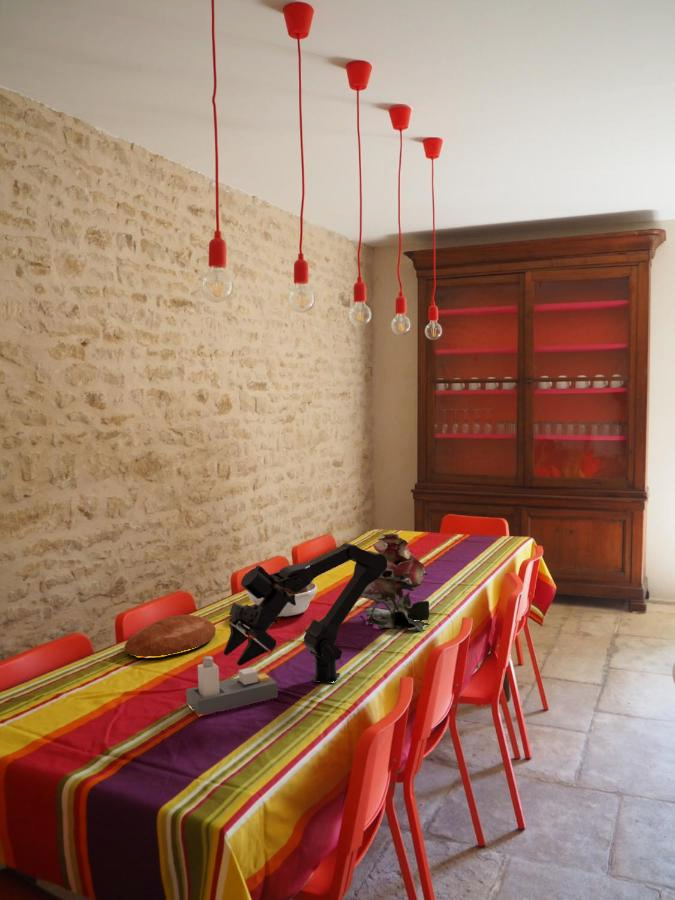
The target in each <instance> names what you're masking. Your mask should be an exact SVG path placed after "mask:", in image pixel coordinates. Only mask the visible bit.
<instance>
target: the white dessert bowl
mask: <svg viewBox="0 0 675 900" xmlns="http://www.w3.org/2000/svg"><path fill="white" fill-rule="evenodd" d="M274 586H275V587H276V588H277V589H279V588H282V587H280V586H278V585H274ZM282 589H284V590H285V591H286V592H287V593H288V594H291V593H292V594H294V595H295V601H296V605H295V606H294V605H292V604H290V603H287V604H286V606H285V607H284V608H283V610H282V611H281V612H280V614H279V615H278V617H282V616H283V617H290V616H291V617H292V616H296V615H299V614H302V613H304V612H305V611H306V610H307V609H309V608H308V607H309V605H310V602H311V601H312V600H313V599H314V597H315V596H316V595H317V592H318V586H317V584H316V583H314V582H313V581H312V582H311V583H310V584H309V585H308V586H306V587H305V588H304V589H302V590H301V591H298V592H293V591H290V590H288V589H286V588H282ZM246 594H247V597H248V598H249V599H250V601H251V602H252V603H253V605H255V604H257V605H259V604H260V602H261V601H262V600H263V599H264V598H260V599H257V598H256V597H254V596H253V595H252V594H251V593H250V592H248V591H247V590H246Z"/></svg>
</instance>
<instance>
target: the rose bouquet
mask: <svg viewBox="0 0 675 900" xmlns="http://www.w3.org/2000/svg"><path fill="white" fill-rule="evenodd" d="M376 540H377V541H376V542H374V543H373V544H372V547H373V548H374V550H376V551H375V552H376V553H379V554H382V555H384V556H385V557H386V560H387V565H388V566H387V569H386V570H385V572H384V573H383V574H382V575H381V576H380V577H379V578H378V579H377V580H375V581H374V582H372V583H371V584H369V585H368V586H367V587H366V589H365V590H364V592H363V593H362V595H361V596H360V598H361V599H365V600H366V599H367V600H370V601H372V602H370V604H369V606H370V607H368V608H366V609H365V611H364V612H363V613H366V614H365V615H366V616H370V617H369V619H367V620H366V621H367V622H368V623H372V624H377V625H381V626H378V628H379V630H381V629H383V628H384V629H385V628H387V629H388V628H389V629H396V628H398V629H397V630H402V626H399V625H397V624H398V620H399V619H400V618H401V619H402V618H403V619H406V620H407V621H408V623H409V624H412V625H413V626H414V627H409V628H407V630H411V631H416V632H421V631H423V627H422V626H424V625H429V626H430V623H429V622H428V623H429V624H428V623H424V622H421V621H422V620H427V621H428V619H430V601H429V600H422V601H421V600H420V601H417V602H414V603H412V600H411V599H410V592H414V593H419V591H418V590H417V589H415V588H418V587H420V586H422V580H423V579H424V576H429V573H426V571H425V569H426V568H425V565H424V564H423V562H420V561H419V559H418V558H417V557H416V556H415V555H414V554H412V553H411V549H409V548H408V545H409V544H410V541H409V540H406V539H403V538H402V537H399V534H398V533H394V532H393V533H387V534H383V533H382V534H380V536H378V538H377V539H376ZM403 590H406V591H408V592H407V593H406V595H404V592H403ZM378 604H383V605H385V607H386V608H387V609H383V608H382V609H381V608H377V607H378ZM411 604H412V605H411ZM377 617H381V618H380V619H379V618H378V619H377ZM397 619H398V620H397ZM414 620H420V621H414ZM366 621H365V622H366ZM423 632H424V631H423ZM421 633H422V632H421Z"/></svg>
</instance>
